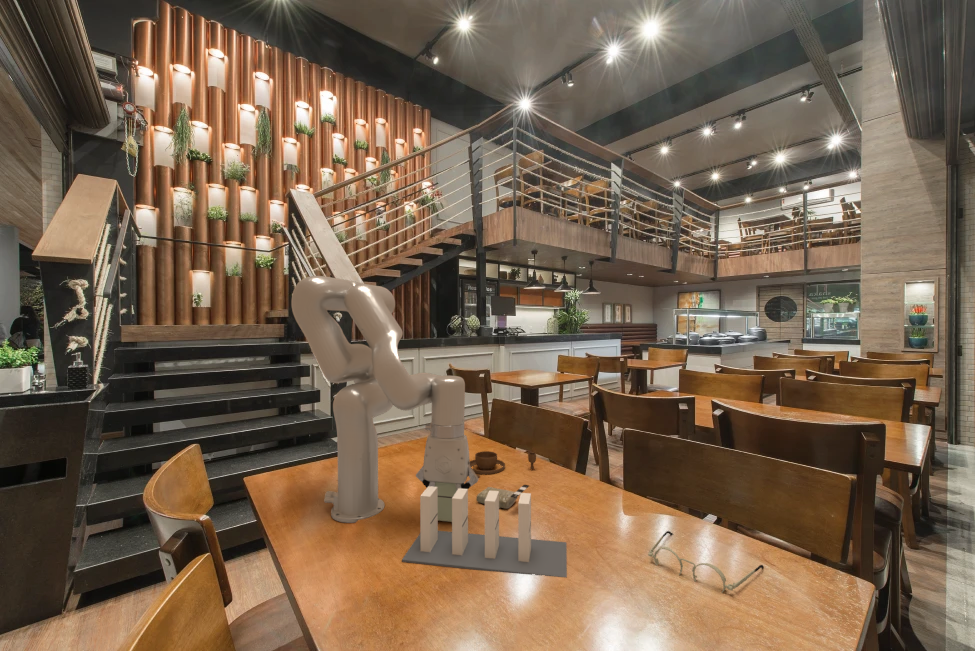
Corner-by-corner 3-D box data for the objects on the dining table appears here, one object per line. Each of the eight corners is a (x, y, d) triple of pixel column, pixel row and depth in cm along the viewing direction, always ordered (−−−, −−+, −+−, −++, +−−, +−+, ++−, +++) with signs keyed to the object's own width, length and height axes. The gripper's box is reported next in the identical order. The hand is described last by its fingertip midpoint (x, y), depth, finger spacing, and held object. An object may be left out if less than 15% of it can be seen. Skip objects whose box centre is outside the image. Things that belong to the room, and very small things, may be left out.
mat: (401, 561, 80) (401, 559, 80) (422, 531, 92) (422, 529, 92) (566, 579, 74) (566, 577, 74) (566, 544, 86) (566, 542, 86)
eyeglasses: (640, 565, 79) (640, 538, 79) (674, 537, 90) (674, 513, 89) (741, 609, 67) (741, 578, 67) (767, 571, 77) (767, 544, 77)
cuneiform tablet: (515, 497, 99) (473, 487, 105) (516, 515, 99) (474, 505, 105) (529, 485, 105) (488, 477, 111) (530, 502, 105) (489, 493, 111)
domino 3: (484, 557, 80) (484, 500, 80) (489, 544, 85) (489, 490, 85) (495, 558, 80) (495, 501, 80) (499, 545, 85) (499, 491, 85)
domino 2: (452, 554, 82) (451, 498, 81) (458, 541, 86) (458, 488, 86) (462, 555, 81) (462, 499, 81) (468, 542, 86) (467, 488, 86)
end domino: (455, 522, 94) (456, 473, 94) (434, 519, 95) (435, 472, 95) (457, 518, 96) (458, 470, 96) (437, 515, 97) (437, 468, 97)
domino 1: (420, 551, 83) (420, 495, 83) (428, 538, 88) (428, 486, 88) (430, 552, 82) (430, 496, 82) (437, 539, 87) (437, 486, 87)
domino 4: (518, 561, 79) (518, 503, 79) (520, 547, 84) (520, 492, 84) (529, 562, 79) (528, 504, 79) (531, 548, 84) (531, 493, 84)
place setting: (489, 458, 142) (489, 441, 142) (539, 471, 130) (539, 453, 130) (453, 473, 129) (453, 454, 129) (505, 489, 116) (505, 468, 116)
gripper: (406, 432, 93) (405, 512, 94) (480, 437, 90) (479, 520, 91) (418, 423, 101) (416, 498, 101) (487, 428, 98) (485, 505, 98)
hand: (446, 508), depth 96 cm, fingers closed on end domino, 4 cm apart
